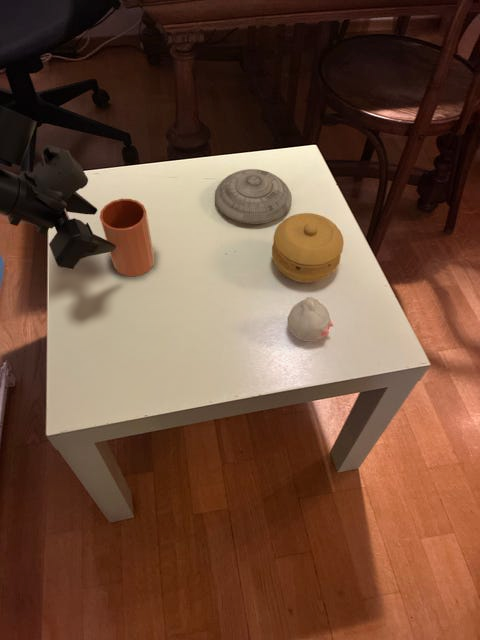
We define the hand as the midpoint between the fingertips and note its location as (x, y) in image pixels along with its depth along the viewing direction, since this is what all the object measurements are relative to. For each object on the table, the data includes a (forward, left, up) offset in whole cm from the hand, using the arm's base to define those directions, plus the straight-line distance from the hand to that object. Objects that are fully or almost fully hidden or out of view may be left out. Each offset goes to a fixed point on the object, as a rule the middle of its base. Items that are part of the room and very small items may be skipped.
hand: (104, 229), depth 77 cm
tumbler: (+3, +2, -9) cm, 10 cm away
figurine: (+32, -14, -9) cm, 36 cm away
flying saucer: (+25, +17, -9) cm, 31 cm away
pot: (+33, 0, -9) cm, 34 cm away
